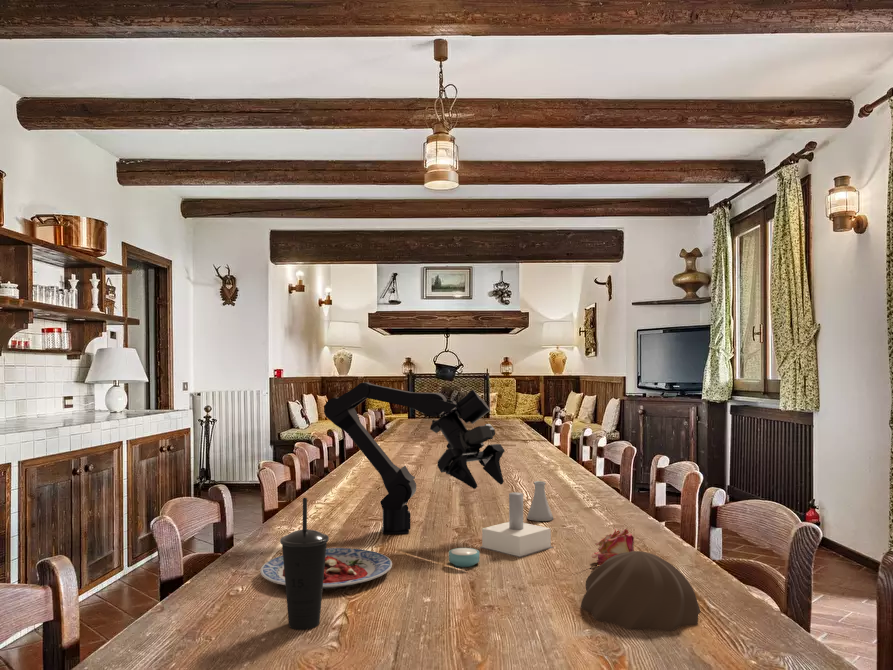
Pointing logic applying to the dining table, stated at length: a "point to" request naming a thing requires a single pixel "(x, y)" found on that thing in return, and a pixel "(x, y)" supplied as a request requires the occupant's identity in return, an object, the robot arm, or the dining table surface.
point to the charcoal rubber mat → (515, 555)
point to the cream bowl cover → (516, 532)
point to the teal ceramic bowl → (464, 557)
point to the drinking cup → (304, 574)
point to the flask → (539, 504)
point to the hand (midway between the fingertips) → (489, 485)
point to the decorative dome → (640, 593)
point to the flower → (614, 545)
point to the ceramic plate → (337, 567)
